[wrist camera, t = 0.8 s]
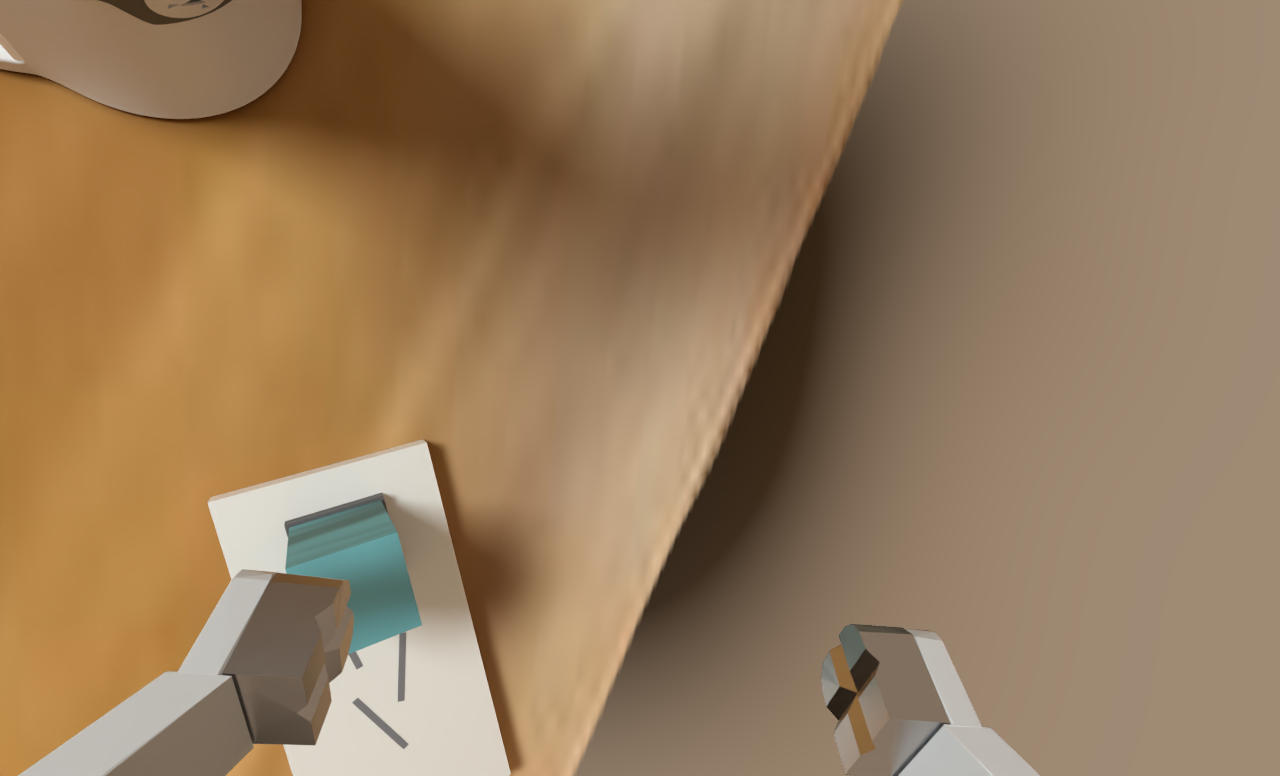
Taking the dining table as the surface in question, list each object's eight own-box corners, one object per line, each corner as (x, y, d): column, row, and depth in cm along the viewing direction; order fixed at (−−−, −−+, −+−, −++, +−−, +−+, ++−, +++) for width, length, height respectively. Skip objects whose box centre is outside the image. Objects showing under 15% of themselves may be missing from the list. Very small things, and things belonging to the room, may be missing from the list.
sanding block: (284, 521, 38) (279, 566, 30) (381, 492, 40) (400, 526, 32) (309, 606, 38) (310, 673, 30) (403, 573, 41) (427, 626, 33)
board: (211, 497, 37) (207, 502, 36) (422, 439, 42) (426, 442, 41) (322, 855, 41) (323, 873, 40) (505, 761, 46) (511, 774, 45)
